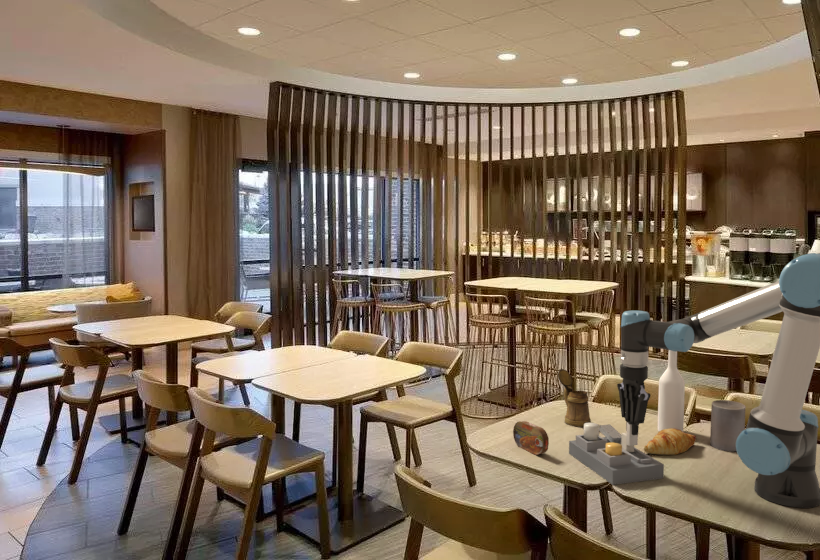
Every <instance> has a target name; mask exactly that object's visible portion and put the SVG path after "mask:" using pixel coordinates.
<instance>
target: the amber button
mask: <svg viewBox="0 0 820 560" xmlns="http://www.w3.org/2000/svg"><path fill="white" fill-rule="evenodd" d="M605 453H607V454H608V455H610V456H617V455H622V445H621V444H619V443H613V442H610V443H606V452H605Z"/></svg>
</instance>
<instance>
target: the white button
mask: <svg viewBox="0 0 820 560" xmlns="http://www.w3.org/2000/svg"><path fill="white" fill-rule="evenodd" d="M599 428H600V424H598V423H595V422H591V423H585V424H584V427H583V435H584V439H586V440H592V441H595V440H598V439H599V436H600V431H599Z"/></svg>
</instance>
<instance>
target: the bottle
mask: <svg viewBox="0 0 820 560" xmlns="http://www.w3.org/2000/svg"><path fill="white" fill-rule="evenodd" d="M667 359H668V361H667V368H666V369H665V371H664V372H663V373H662V375H661V376H660V377H659V381H658V399H657V400H658V405H657V431H658V432H659V431H661V430H663V429H669V428H673V429H677V430H681V431H682V432H684V423H685V421H684V419H685V418H684V417H685V416H684V415H685V392H686V391H685V390H686V389H685V388H686V386H685V385H686V382H685V379H684V378H683V376H682V375H681V372H680V370H679V369H678V351H676V352H675V351H671V350H668V358H667Z"/></svg>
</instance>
